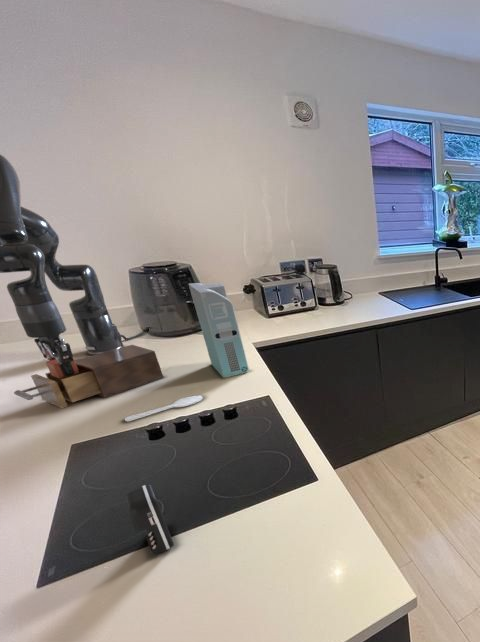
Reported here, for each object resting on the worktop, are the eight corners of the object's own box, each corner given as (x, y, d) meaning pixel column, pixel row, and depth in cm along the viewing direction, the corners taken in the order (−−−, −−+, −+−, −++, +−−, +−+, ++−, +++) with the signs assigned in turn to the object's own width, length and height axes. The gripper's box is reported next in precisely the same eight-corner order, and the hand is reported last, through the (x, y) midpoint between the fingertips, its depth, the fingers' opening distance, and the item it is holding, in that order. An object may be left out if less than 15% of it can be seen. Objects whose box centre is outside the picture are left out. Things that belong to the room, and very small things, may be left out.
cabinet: (104, 397, 122) (92, 368, 118) (82, 389, 126) (70, 361, 123) (163, 377, 135) (154, 350, 131) (141, 370, 140) (132, 344, 136)
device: (249, 371, 141) (228, 288, 130) (224, 378, 136) (199, 292, 124) (235, 358, 151) (215, 280, 140) (211, 364, 146) (188, 283, 135)
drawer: (37, 416, 110) (25, 390, 107) (18, 407, 114) (5, 382, 111) (124, 387, 126) (115, 364, 123) (104, 380, 130) (95, 358, 127)
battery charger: (141, 538, 74) (120, 490, 70) (167, 527, 77) (148, 479, 72) (148, 560, 70) (125, 510, 65) (175, 547, 72) (155, 498, 68)
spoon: (123, 417, 112) (122, 415, 111) (200, 394, 125) (199, 393, 124) (127, 424, 108) (126, 422, 108) (205, 400, 121) (205, 398, 121)
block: (71, 369, 120) (65, 356, 118) (79, 372, 119) (73, 359, 117) (51, 375, 116) (45, 361, 115) (59, 378, 115) (52, 364, 113)
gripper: (72, 318, 112) (94, 373, 118) (46, 311, 117) (70, 364, 123) (34, 325, 105) (60, 383, 112) (9, 318, 110) (35, 373, 117)
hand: (65, 373), depth 117 cm, fingers closed on block, 4 cm apart
